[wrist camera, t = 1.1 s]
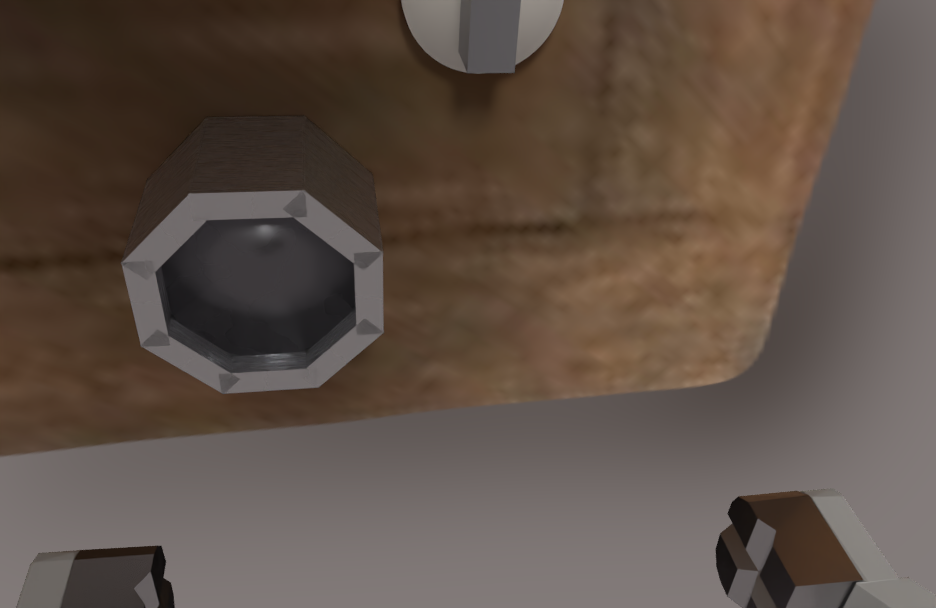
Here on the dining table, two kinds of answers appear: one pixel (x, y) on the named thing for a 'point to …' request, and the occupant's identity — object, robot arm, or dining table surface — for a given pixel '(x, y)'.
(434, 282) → the dining table surface
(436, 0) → the cap
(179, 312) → the grey octagonal pot
